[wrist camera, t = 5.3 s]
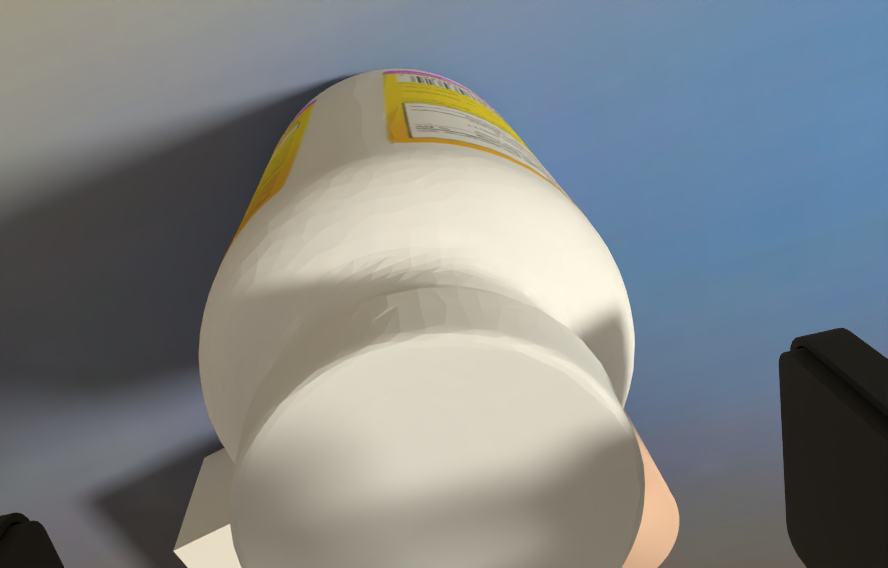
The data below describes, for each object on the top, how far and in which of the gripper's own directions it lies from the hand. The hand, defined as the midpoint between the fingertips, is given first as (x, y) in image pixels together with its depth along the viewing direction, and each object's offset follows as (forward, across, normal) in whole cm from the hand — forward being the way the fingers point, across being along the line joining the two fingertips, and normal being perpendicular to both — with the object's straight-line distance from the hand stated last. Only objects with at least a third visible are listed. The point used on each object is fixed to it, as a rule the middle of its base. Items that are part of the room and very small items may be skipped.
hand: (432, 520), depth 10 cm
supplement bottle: (+12, 0, -1) cm, 12 cm away
